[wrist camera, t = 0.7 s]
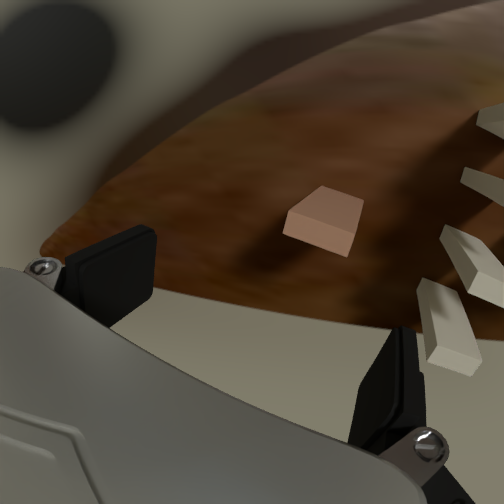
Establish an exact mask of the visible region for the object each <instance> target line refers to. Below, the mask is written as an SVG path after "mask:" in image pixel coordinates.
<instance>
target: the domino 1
mask: <svg viewBox="0 0 504 504" xmlns="http://www.w3.org/2000/svg"><path fill="white" fill-rule="evenodd" d="M363 202H364V200H361V199H359V198H356V197H353V196H350V195H347V194H345V193H342V192H339V191H336V190H333V189H330V188H327V187H324V186H320V187H319V188H318V189H317V190H315V191H314V192H313V193H311V194H310V195H309V196H307V197H306V198H305V199H303V200H302V201H301V202H299V203H298V204H297V205H295V206H294V207H293V208H291V209H290V210H289V212H288V215H287V219H286V223H285V226H284V230H283V234H285V235H288V236H291V237H293V238H296V239H299V240H302V241H304V242H307V243H310V244H313V245H315V246H318V247H321V248H323V249H326V250H329V251H331V252H334V253H337V254H340V255H342V256H345V257H347V256H348V253H349V250H350V247H351V245H352V242H353V239H354V236H355V233H356V229H357V226H358V222H359V218H360V214H361V210H362V206H363Z"/></svg>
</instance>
